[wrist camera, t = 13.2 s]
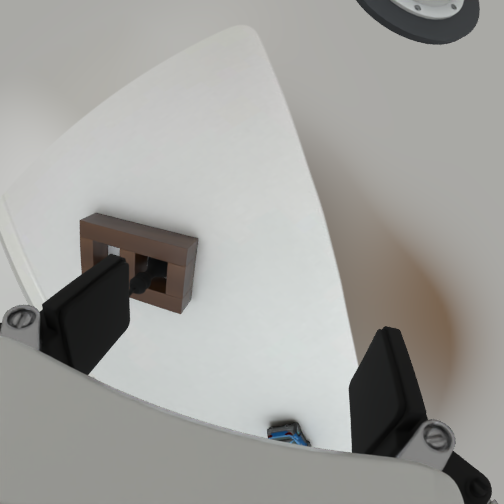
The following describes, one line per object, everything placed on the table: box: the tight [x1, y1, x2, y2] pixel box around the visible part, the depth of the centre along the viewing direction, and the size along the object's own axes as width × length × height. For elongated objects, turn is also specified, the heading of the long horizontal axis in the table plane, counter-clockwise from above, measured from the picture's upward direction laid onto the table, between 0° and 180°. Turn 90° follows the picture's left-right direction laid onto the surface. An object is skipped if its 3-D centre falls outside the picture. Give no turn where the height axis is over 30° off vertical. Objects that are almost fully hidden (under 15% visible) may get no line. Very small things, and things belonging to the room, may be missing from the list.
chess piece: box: [129, 257, 168, 297], centre depth 39 cm, size 4×4×10 cm
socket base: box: [80, 213, 198, 314], centre depth 42 cm, size 10×17×4 cm, turn 79°
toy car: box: [267, 423, 311, 447], centre depth 50 cm, size 6×12×6 cm, turn 26°
